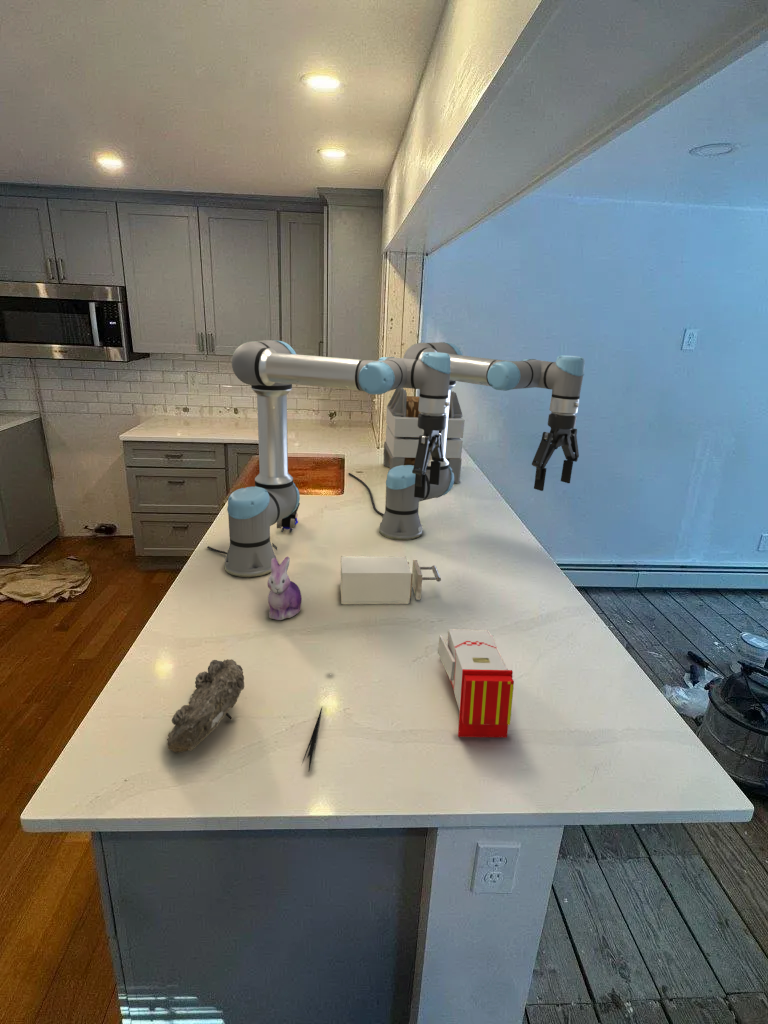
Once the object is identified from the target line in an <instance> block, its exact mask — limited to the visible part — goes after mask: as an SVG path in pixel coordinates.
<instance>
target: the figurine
mask: <svg viewBox="0 0 768 1024" xmlns="http://www.w3.org/2000/svg"><path fill="white" fill-rule="evenodd" d="M289 566H290V557H289V556H286V557H285V558H284V559H283V560H282V561H281V563H279V561H278V559H277V557H276V558H273V559H272V561H271V572H270V575H269V576H268V579H267V588H268V589H269V590H270V591H269V592H268V595H267V601H268V607H269V609H268V612H269V614H268V616H269V618H270V619H273V620H277V621H283V620H286V619H291V618H293V617H294V616H296V615H297V614H299V613H300V612H301V608H302V592H301V590H300V589H301V588H300V587H299V586H298V584H296V583H295V582H294V581H291V580H290V577H289V575H288V569H289Z"/></svg>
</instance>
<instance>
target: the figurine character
mask: <svg viewBox="0 0 768 1024" xmlns="http://www.w3.org/2000/svg"><path fill="white" fill-rule="evenodd" d="M300 505H301V503H300V502H299V504H298V507H297V508H296V510H295V511H294V512H292V513H291V514H290V515H289V516H288V517H286V518H284V519H281V520H280V521H278V522H276V529H281V531H280V532H281V533H284V531H285V530H289V533H292V531H293V529H295V528H296V525H297V524H298V523H299V521H298V515H299V514H298V511H299V508H300Z"/></svg>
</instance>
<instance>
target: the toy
mask: <svg viewBox="0 0 768 1024" xmlns="http://www.w3.org/2000/svg"><path fill="white" fill-rule="evenodd" d="M446 640H447V643H446V641H445V639H444V636H443V635H442V634H439V637H438V646H437V656H438V657H439V659H440V661H441V663H442V666H443V668H444V670H445V672H446V674H447V677H448V679H449V681H450V684H451V687H452V690H453V693H454V697H455V701H456V705H457V708H458V711H459V714H458V715H459V716H458V730H457V731H458V732H457V737H458V738H508V731H509V726H510V725H511V717H512V707H513V697H514V696H513V695H514V684H515V680H514V679H513V673H514V671H513V670H512V669H508V667H507V665H506V662H505V661H504V659H503V658H502V655H501V653H500V651H499V649H498V647H497V643H496V639H495V637H494V635H493V634H491V632H490V631H489V629H467V628H466V629H465V628H463V629H461V628H460V629H459V628H448V630H447V639H446Z"/></svg>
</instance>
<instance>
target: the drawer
mask: <svg viewBox="0 0 768 1024" xmlns="http://www.w3.org/2000/svg"><path fill="white" fill-rule="evenodd" d="M408 564H409V565H410V562H409V561H408ZM423 570H425V571H428V570H429V571H430V570H432V573H433V576H432V577H431V576H424V577H423V573H422V571H423ZM423 581H436V582H438V583H439V582H441V581H442V578H441V575H440V573H439V570H438V569H437V566H436V565H432V566H420V565H419V562H418V559H412V569H411V587H410V598H412V590H413V595H414V597H415V600H416V601H420V600H421V599H422V585H423Z"/></svg>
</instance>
